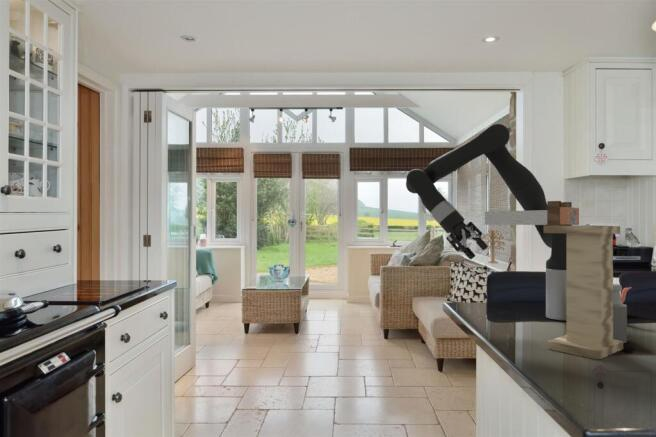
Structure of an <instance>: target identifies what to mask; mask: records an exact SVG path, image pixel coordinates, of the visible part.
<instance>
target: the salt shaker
mask: <svg viewBox="0 0 656 437" xmlns="http://www.w3.org/2000/svg"><path fill="white" fill-rule="evenodd" d="M622 291H623V287H622V285H621V284H619V283H613V302H615V303H621V304H623V303H622V300H621V292H622Z"/></svg>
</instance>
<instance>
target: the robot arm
mask: <svg viewBox="0 0 656 437" xmlns="http://www.w3.org/2000/svg"><path fill="white" fill-rule="evenodd" d="M510 137H511V136H510V130H509V128H508V127H507V126H505V125H504V124H501V123H493V124H492V123H491V124H490V125H488V126H486V127H484V128H483V129H481V130H480V131H479V132H478V134H477V135H476V137H474V138H473V139H471V140H469V141H467V142H466V143H464V144H462V145H461V146H460V145H459V147H456V148H454V149H453V150H450V151H448V152H445V154H442V155H441V156H438V157H437V158H435V159H433V160H432V161H431V162H429V163H428V164H427V165H426V167H424V168H423V169H420V168H414V169H411V170H409V172H408V173H407V174H406V180H405V187H406V190H407V191H408V192H410V193H411V194H416V195H418V196H419V197H420V200H421V201H420V202H421V204H422V205H423V206H424V208H426V210H427V211H428V212H429V214H431V215H432V217H433V219H434V220H435V221H436V222H437V223H438V225H439V226H440V227H441V228H442V229H443V230H444V232H446V234H448V235H447V236H446V240H447V241H448V243H449V244H450V245H451V246H452V248H453V249H454V250H455V251H456V252H462V253H463V254H464V255H465V256H466V257H467V258H468V259H469V260H473V259H474V258H475V257H476V254H475V253H474V252H473V250H471V248H470V247H469V246H468V244H467V240H470V241H471V240H472V241H474V242H475V243H476V244H477V245H478V247H479V248H480V250H482V251H486V250H487V248H488V247H489V246H488V244H487V243H486V242H485V241H484V240H483V239H482V236H483V232H482V231H481V230H480V228H478V227H477V226H476V225H475V224H474V223H473V222H472V221H469V222H468V223H467V224H466V223H465V222H464V221H465V218H464V217H463V215H462V214H461V213H460V212H459V211H458V210H457V208H455V206H454V205H453V204H452V203H451V202H450V201H448V200H447V199H446V198H445V196H443V194H442V193H441V192H440V191H439V190H438V189H437V187H436V185H435V184H436V183H437V181H439V180H442V179H443V178H445V177H447V176H448V175H450V174H452V173H454V172H455V171H458V170H459V169H461V168H462V167H463V166H465V165H466V164H468V163H470V162H471V161H474V160H475V159H476V158H479V157H480V156H483V155H485V157H486V158H487V159H488V161H489V162H490V163H491V164H492V165H493V167H494V168H495V169H496V171H497V173H498V174H499V176H500V177H501V179H502V180H503V182H504V183H505V184H506V186H507V187H508V189H509V191H510V192H511V195H513V196H514V198H515V199H516V200H517V202H518V203H519V205H520V206H521V208H522V209H523V211H533V210H547V199H546V194H545V192H544V188H543V186H542V185H541V184H540V182H539V181H538V180H537V178H536V176H535V175H534V173H532V171H531V170H529V169H528V167H526V166H524V165H523V164H522V163H520V162H519V161H517V160H516V159H515V157H514V156H513V155H512V154H511V153H510V151H509V150H508V148H507V147H506V145H507V144H508V143H509V141H510ZM544 226H547V225H534V227H535V228H536V232H537V233H538V234H539V237H540V238H541V240H542V241H543V244H545V245H546V247H548V248H550V249H551V251H550V252H551V253H550V257H549V258H548V259H547V260H546V261H545V317H546V318H548V319H551V320H557V321H567V233H544Z"/></svg>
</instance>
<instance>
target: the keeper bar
mask: <svg viewBox="0 0 656 437" xmlns="http://www.w3.org/2000/svg"><path fill="white" fill-rule="evenodd" d="M484 225H490V226H494V225H495V226H535V225H547V210H533V211H524V210H501V211H496V210H495V211H484ZM559 225H572V226H580V208H579V207H573V206H572V207H559Z"/></svg>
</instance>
